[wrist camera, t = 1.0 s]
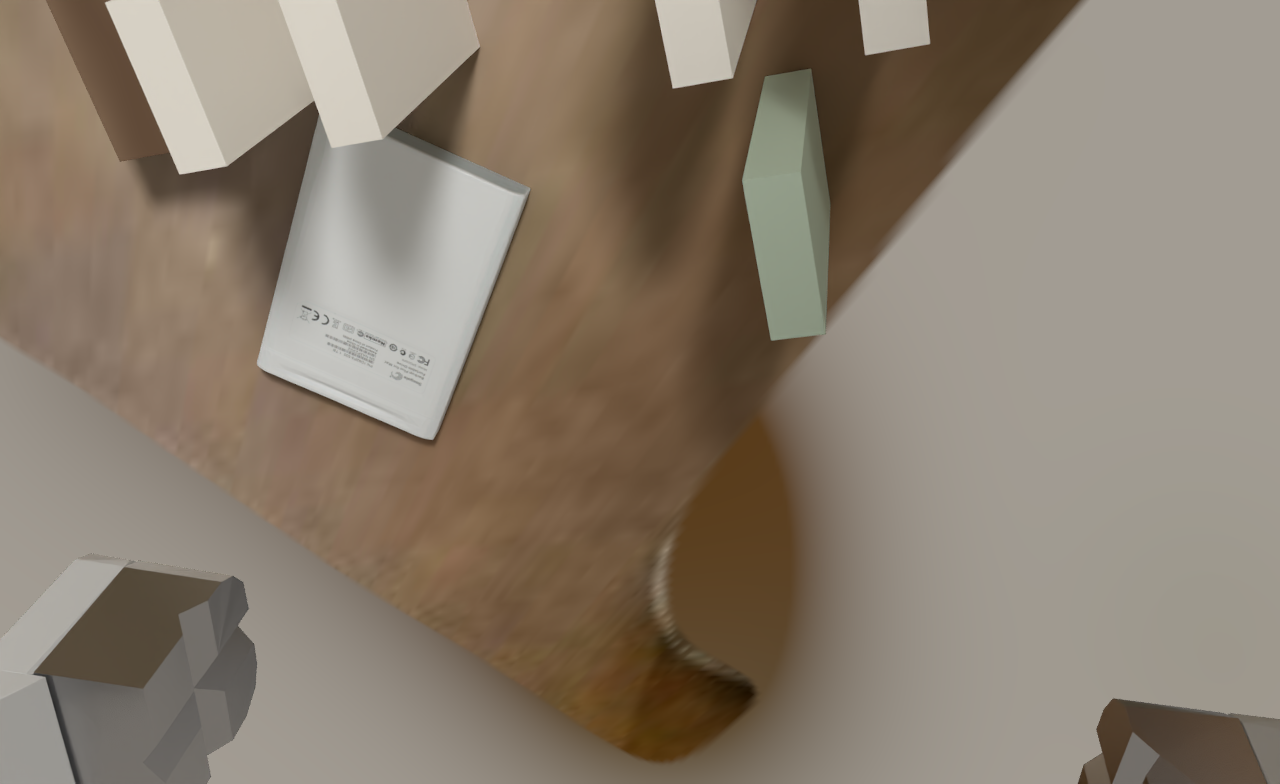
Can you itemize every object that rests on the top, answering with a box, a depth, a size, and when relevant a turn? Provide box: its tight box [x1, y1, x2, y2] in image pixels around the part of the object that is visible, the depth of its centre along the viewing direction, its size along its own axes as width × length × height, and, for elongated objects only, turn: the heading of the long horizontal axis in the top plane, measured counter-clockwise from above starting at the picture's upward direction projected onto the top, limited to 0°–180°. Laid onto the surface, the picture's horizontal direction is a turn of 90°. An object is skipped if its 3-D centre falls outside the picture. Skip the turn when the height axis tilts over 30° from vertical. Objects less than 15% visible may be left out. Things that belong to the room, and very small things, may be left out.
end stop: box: [46, 0, 170, 162], centre depth 41 cm, size 4×7×3 cm, turn 12°
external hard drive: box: [257, 115, 531, 440], centre depth 46 cm, size 2×8×12 cm
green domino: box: [742, 69, 830, 341], centre depth 36 cm, size 2×5×10 cm, turn 12°
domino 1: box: [105, 0, 314, 174], centre depth 36 cm, size 2×5×10 cm, turn 13°
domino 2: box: [278, 0, 480, 148], centre depth 35 cm, size 2×5×10 cm, turn 13°
